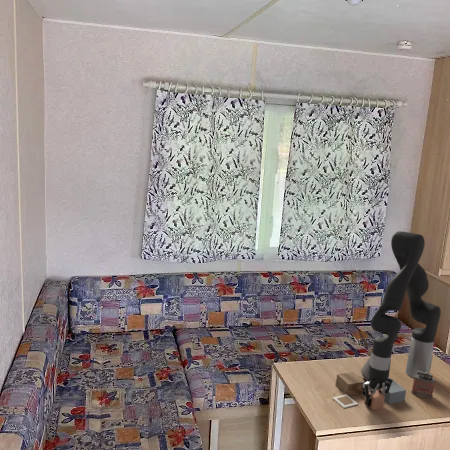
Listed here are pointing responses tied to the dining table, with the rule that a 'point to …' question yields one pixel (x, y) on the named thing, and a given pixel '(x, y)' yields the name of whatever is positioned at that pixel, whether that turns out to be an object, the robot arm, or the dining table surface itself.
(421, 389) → the lighter
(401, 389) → the slate block
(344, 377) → the walnut block
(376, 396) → the terracotta cube
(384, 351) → the robot arm
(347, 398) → the white square frame
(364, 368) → the coffee pot
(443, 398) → the dining table surface
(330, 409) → the dining table surface
